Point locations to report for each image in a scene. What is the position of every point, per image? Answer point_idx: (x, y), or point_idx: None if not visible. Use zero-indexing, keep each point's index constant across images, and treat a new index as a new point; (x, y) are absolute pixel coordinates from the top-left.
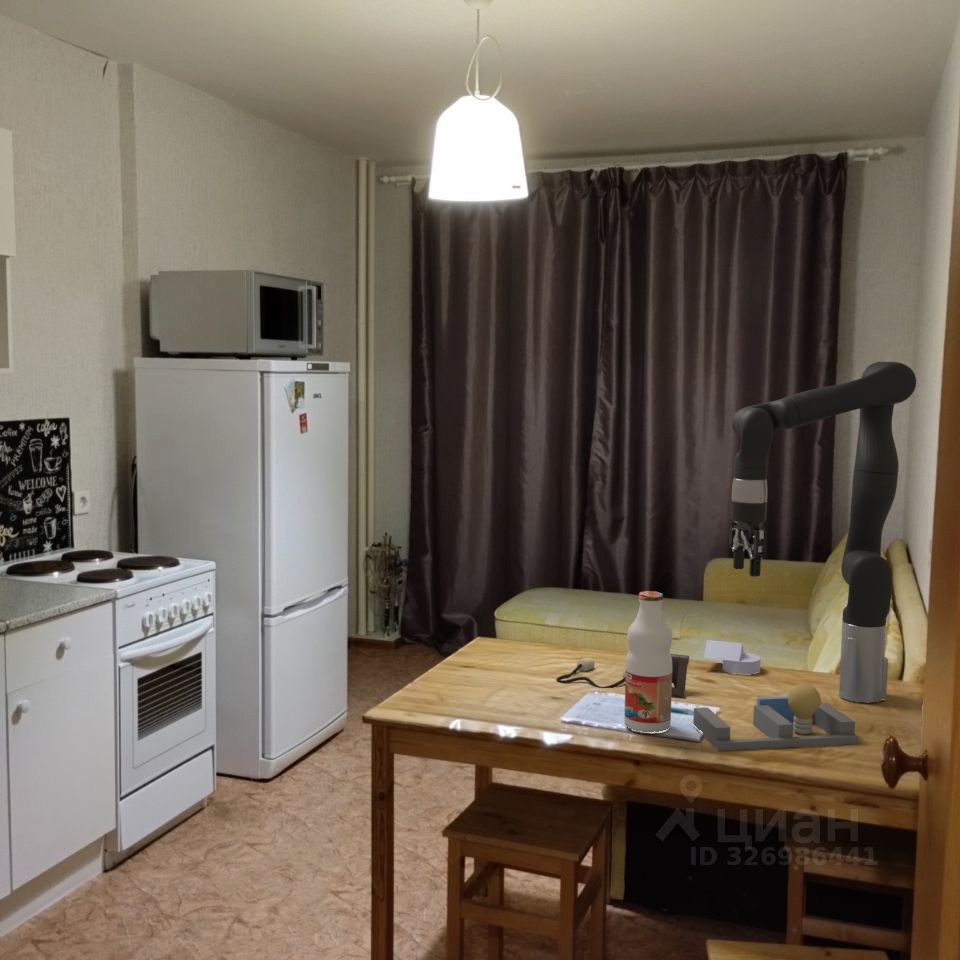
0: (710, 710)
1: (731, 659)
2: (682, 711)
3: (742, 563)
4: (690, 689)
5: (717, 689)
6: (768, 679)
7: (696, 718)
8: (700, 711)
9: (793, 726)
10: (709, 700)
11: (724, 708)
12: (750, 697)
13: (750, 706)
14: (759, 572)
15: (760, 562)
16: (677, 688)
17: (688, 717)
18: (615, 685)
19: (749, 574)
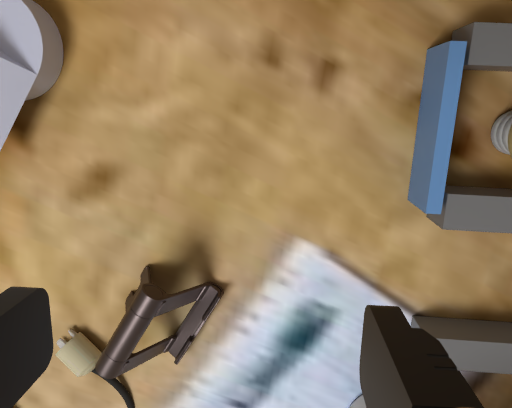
0: (448, 341)
1: (23, 92)
2: (310, 325)
3: (19, 319)
4: (164, 248)
5: (171, 185)
6: (102, 10)
7: None
8: None
9: (505, 153)
10: (248, 239)
11: (309, 230)
12: (243, 133)
13: (307, 165)
14: (436, 343)
15: (443, 384)
16: (213, 308)
17: (349, 328)
18: (129, 396)
19: (362, 386)
